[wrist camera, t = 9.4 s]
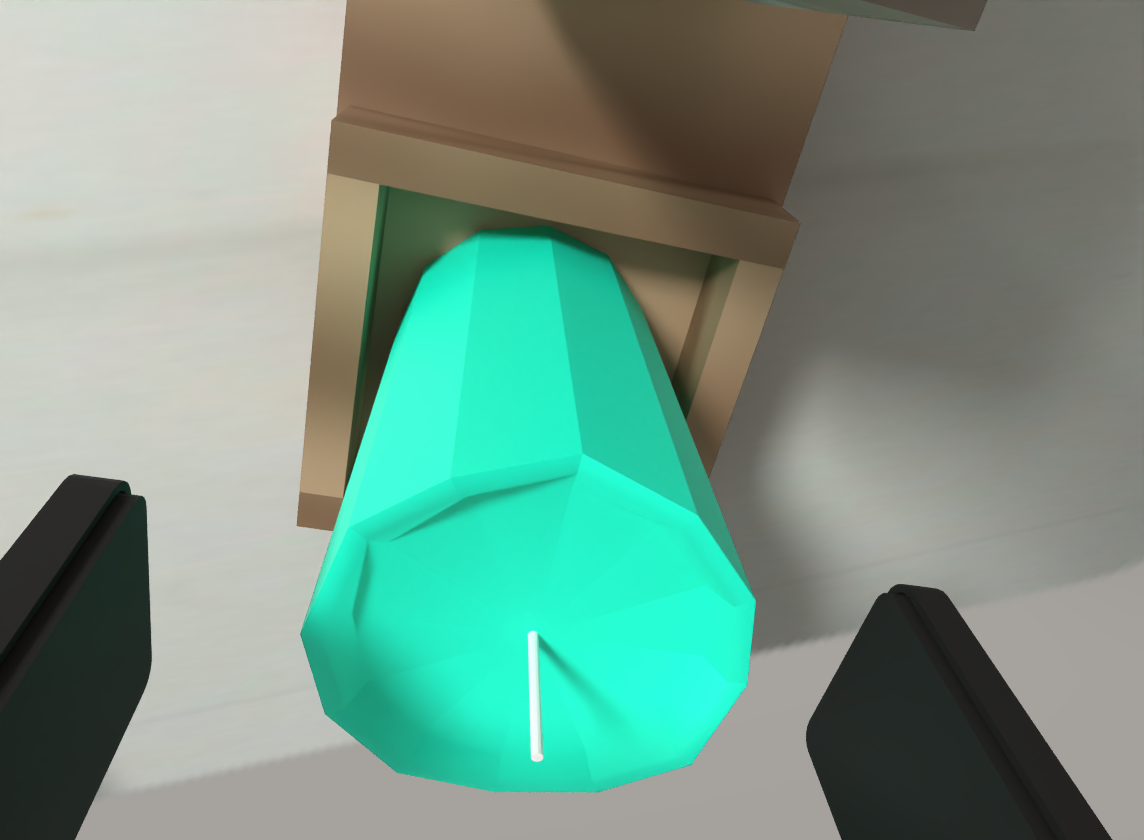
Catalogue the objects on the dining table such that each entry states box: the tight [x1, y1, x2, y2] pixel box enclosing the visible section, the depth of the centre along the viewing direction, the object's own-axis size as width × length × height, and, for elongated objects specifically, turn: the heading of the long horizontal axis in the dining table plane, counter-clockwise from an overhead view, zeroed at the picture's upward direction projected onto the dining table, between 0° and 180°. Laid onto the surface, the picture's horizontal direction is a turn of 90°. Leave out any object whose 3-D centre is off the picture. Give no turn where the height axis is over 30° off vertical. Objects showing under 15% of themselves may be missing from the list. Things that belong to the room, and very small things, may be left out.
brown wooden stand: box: [297, 0, 987, 531], centre depth 13 cm, size 22×10×14 cm, turn 167°
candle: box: [300, 226, 756, 792], centre depth 15 cm, size 6×6×12 cm
